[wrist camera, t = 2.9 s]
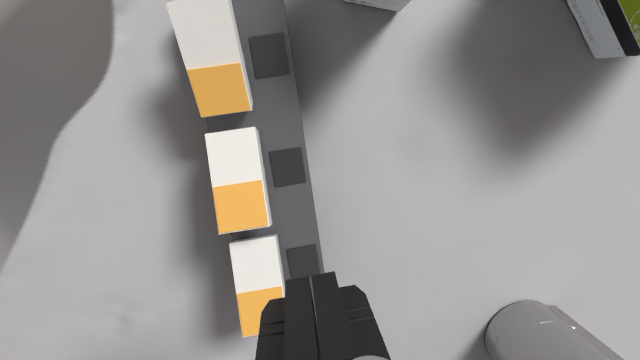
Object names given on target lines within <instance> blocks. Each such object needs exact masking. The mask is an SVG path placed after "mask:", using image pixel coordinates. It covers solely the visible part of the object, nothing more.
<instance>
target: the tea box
mask: <svg viewBox="0 0 640 360" xmlns="http://www.w3.org/2000/svg"><path fill="white" fill-rule="evenodd" d="M567 2H568V5H569V7H570V9H571V11H572V13H573V15H574V16H575V18H576V20H577V22H578V24H579V26H580V29H581V31H582V34H583V36H584V38H585V40H586V42H587V44H588V46H589V48H590V50H591V52H592V54H593V56H594V57H595V59H599V58H613V57H626V56H638V55H640V0H567Z"/></svg>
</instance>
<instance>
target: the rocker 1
mask: <svg viewBox="0 0 640 360" xmlns="http://www.w3.org/2000/svg"><path fill="white" fill-rule="evenodd" d="M166 6H167V9H168V13H169V16H170V19H171V22H172V26H173V29H174V32H175V35H176V38H177V42H178V45H179V48H180V51H181V55H182V58H183V61H184V64H185V68H186V71H187V74H188V77H189V80H190V84H191V87H192V90H193V93H194V97H195V100H196V103H197V106H198V110H199V113H200V116H201V118H203V117H210V116H217V115H224V114H231V113H238V112H245V111H252V107H253V99H252V95H251V90H250V85H249V81H248V76H247V72H246V67H245V62H244V58H243V53H242V48H241V44H240V39H239V35H238V30H237V25H236V21H235V16H234V11H233V7H232V2H231V0H177V1H172V2H169V3H166Z"/></svg>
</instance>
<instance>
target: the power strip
mask: <svg viewBox="0 0 640 360" xmlns="http://www.w3.org/2000/svg"><path fill="white" fill-rule="evenodd" d="M231 2H232V7H233V11H234V16H235V21H236V25H237V30H238V35H239V39H240V44H241V48H242V53H243V58H244V62H245V67H246V72H247V76H248V81H249V85H250V90H251V95H252V99H253V107H252V111H245V112H238V113H231V114H224V115H217V116H210V117H206V120H207V124H208V129H209V133H214V132H221V131H228V130H235V129H242V128H249V127H256V129H257V130H258V132H259V138H260V145H261V152H262V159H263V165H264V172H265V179H266V185H267V192H268V199H269V205H270V212H271V219H272V225H271V226H269V227H263V228H257V229H251V230H244V231H238V232H232V233H231V234H232V239H233V241H237V240H243V239H249V238H255V237H261V236H267V235H273V234H277V236H278V243H279V250H280V256H281V263H282V270H283V276H284V283H285V280H287V279H293V278H299V277H305V276H309V278H310V284H311V290H312V296H313V302H314V295H313V287H312V279H311V275H316V274H322V273H324V267H323V261H322V254H321V247H320V241H319V234H318V227H317V220H316V214H315V207H314V200H313V194H312V187H311V180H310V174H309V167H308V160H307V153H306V147H305V140H304V133H303V127H302V120H301V113H300V107H299V100H298V93H297V87H296V80H295V73H294V66H293V60H292V53H291V46H290V40H289V33H288V26H287V20H286V13H285V6H284V0H231ZM314 309H315V303H314Z"/></svg>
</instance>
